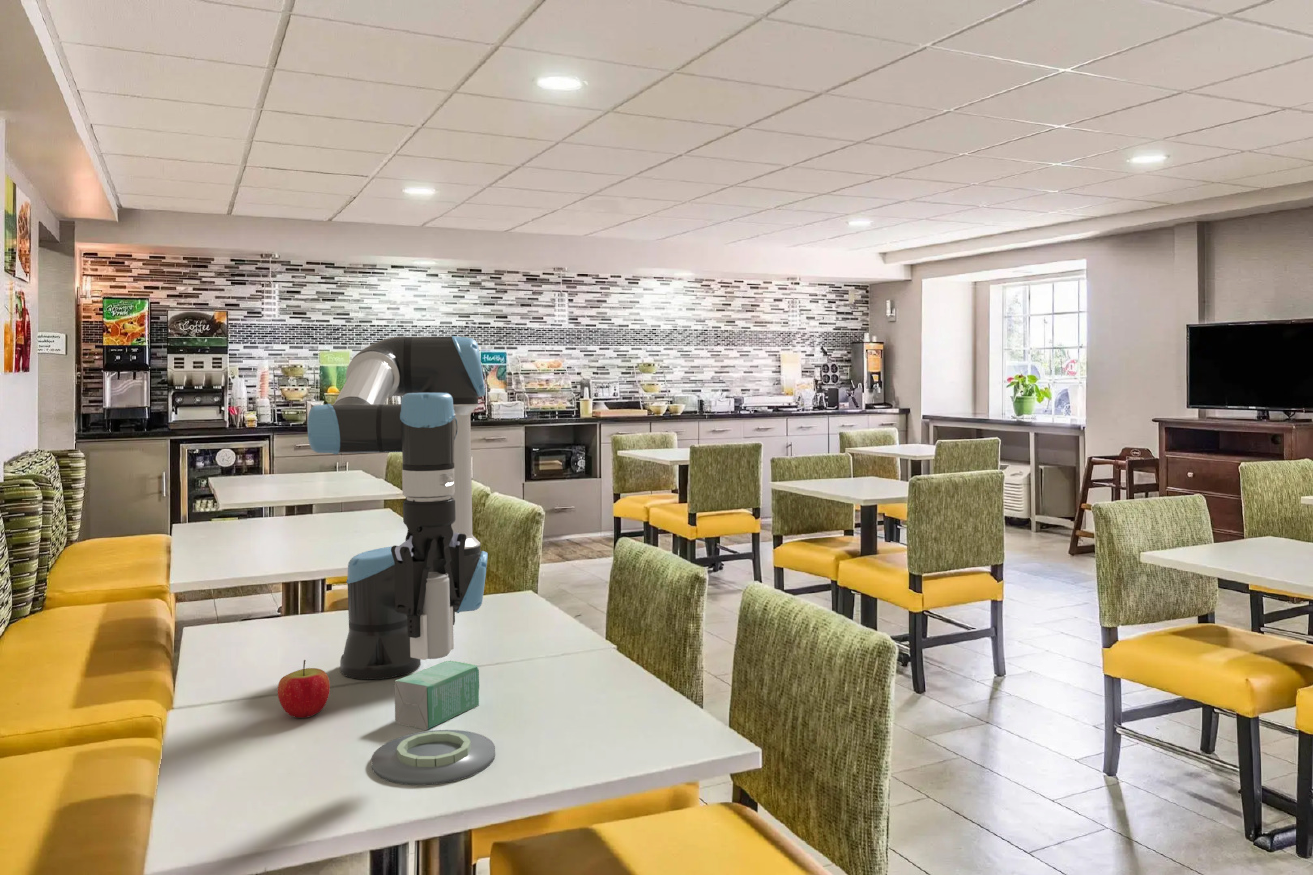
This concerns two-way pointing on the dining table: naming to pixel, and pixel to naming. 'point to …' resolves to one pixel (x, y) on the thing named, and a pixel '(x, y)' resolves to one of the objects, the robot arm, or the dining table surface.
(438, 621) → the beverage can
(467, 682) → the box
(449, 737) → the tray
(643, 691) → the dining table surface
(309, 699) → the apple
